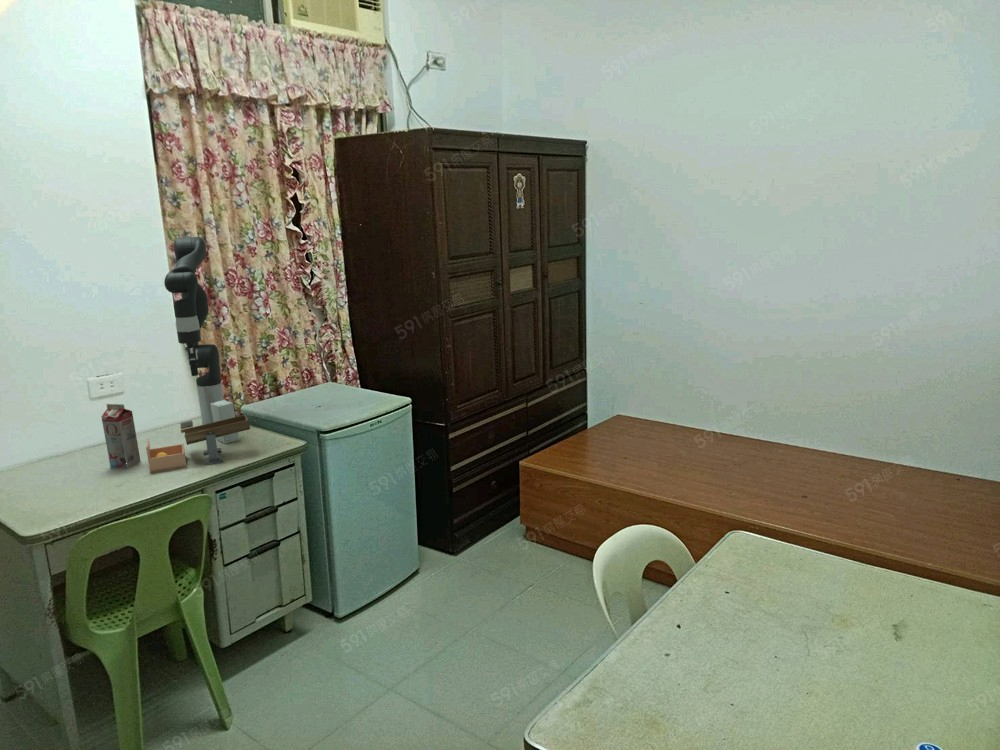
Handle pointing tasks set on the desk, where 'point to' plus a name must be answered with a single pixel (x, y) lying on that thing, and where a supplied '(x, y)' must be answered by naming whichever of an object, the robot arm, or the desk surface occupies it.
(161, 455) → the ball
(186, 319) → the robot arm
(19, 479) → the desk surface
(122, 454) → the juice carton
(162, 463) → the cup
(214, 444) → the lever stand
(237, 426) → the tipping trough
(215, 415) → the skincare box
